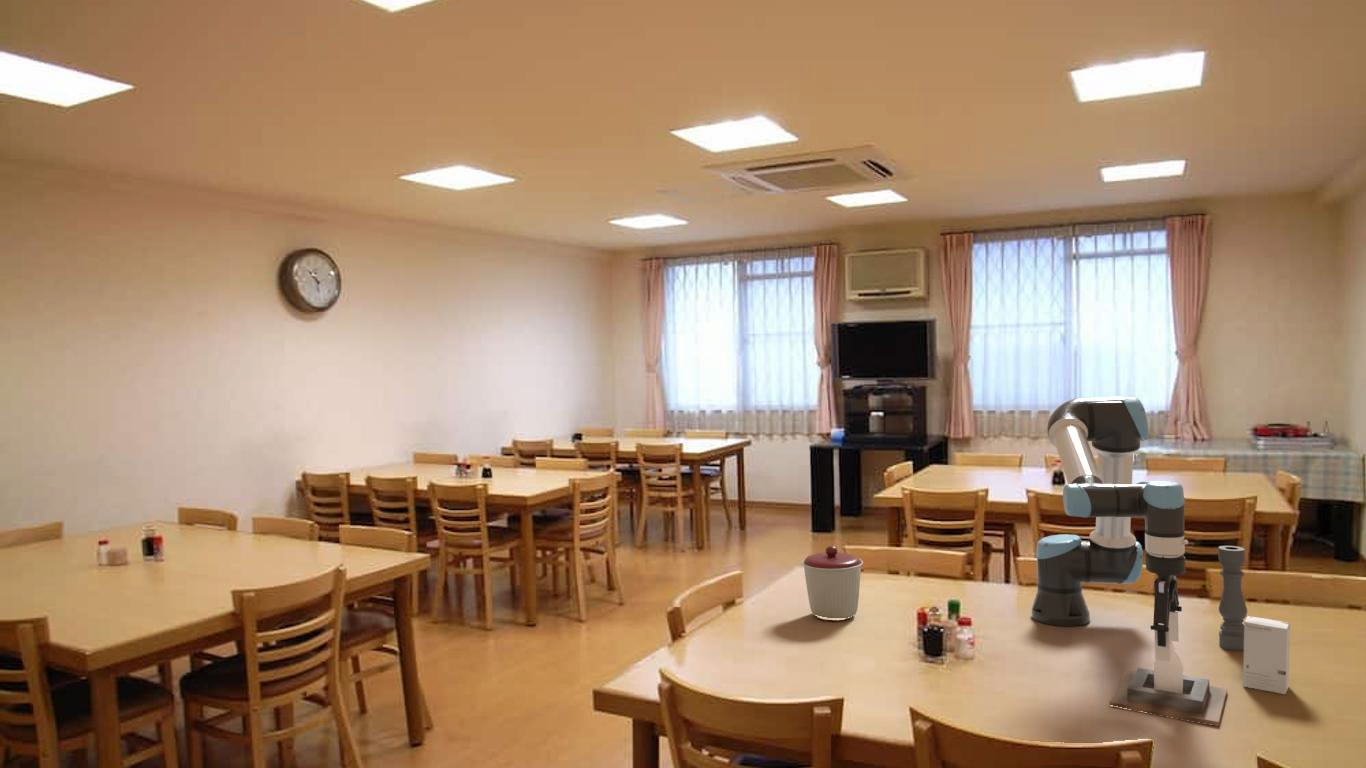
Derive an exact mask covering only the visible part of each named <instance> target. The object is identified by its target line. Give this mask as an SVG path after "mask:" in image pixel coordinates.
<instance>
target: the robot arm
mask: <svg viewBox="0 0 1366 768" xmlns="http://www.w3.org/2000/svg"><path fill="white" fill-rule="evenodd" d="M1145 409H1146V408H1145V407H1144V404H1143V403H1142V401H1141V400H1140V398H1138V397H1133V396H1132V397H1131V396H1121V395H1120V396H1109V397H1108V396H1107V397H1078V398H1073V399H1071V400H1067V401H1065V402H1064V403H1062V404H1061V405H1059V406H1058V407H1057V408H1056V409H1055V410H1054V411H1053V413H1051V416H1050V417H1049V420H1048V422H1047V428H1046V429H1047V430H1046V431H1047V436H1048V439H1049V442H1050V443H1051V444H1052V445H1053V447H1055V448H1056V451H1057V454H1058V457H1059V460H1060V463H1061V467H1062V470H1063V473H1064V476H1065V478H1066V482H1067V484H1065V485H1064V486H1063V490H1062V501H1063V502H1062V503H1063V509H1064V512H1065V514H1066V515H1067V516H1069V517H1077V518H1078V517H1079V518H1080V517H1081V518H1095V529H1094V530H1092V531H1091V532H1090V533H1089V540H1082V539H1081V537H1080V536H1079V535H1077V534H1067V533H1066V534H1054V535H1048V536H1045V537H1042V538H1041V539H1039V540H1038V541H1037V543H1036V551H1035V553H1036V554H1035V559H1036V570H1037V571H1036V576H1037V577H1036V579H1037V582H1036V583H1037V590H1036V591H1037V592H1036V594H1035V597H1034V600H1033V603H1032V607H1031V617H1032V619H1033V620H1035V621H1037V622H1040V623H1043V624H1046V625H1051V626H1060V627H1076V626H1084V625H1086V624H1088V623H1089V622H1090V618H1091V616H1090V615H1091V614H1090V610H1089V607H1088V605H1087V602H1086V600H1085V597H1084V594H1083V584H1086V583H1087V584H1113V585H1114V584H1116V585H1122V584H1123V585H1124V584H1134V583H1136V582H1137V581H1138V580H1139V579H1140V576H1141V575H1142V571H1143V565H1144V564H1143V563H1144V559H1143V556H1144V555H1143V554H1144V553H1143V548H1142V547H1143V546H1142V544H1141V543H1140V542H1139V541H1137V538H1136V536H1135V535H1134V534H1133V533H1131V525H1132V524H1131V519H1132V518H1144V526H1145V527H1144V528H1145V529H1144V550H1145V551H1146V552H1147V553H1145V569H1146V570H1147V571H1148V572H1149V573H1152V574H1156V575H1157V577H1156V578H1155V580H1154V584H1153V585H1154V600H1153V601H1154V603H1153V604H1154V605H1153V623H1152V624H1153V625H1150V630H1151V631H1152V630H1153V631H1154V654H1155V655H1154V656H1155V657H1154V658H1155V659H1154V661H1155V660H1161V661H1168V662H1170V641H1171V642H1176V643H1178V642H1179V640H1180V639H1179V612H1182V611H1183V609H1182V606H1180V602H1179V593H1178V591H1179V590H1178V580H1177V576H1181V575H1183V574H1185V573H1186V557H1185V556H1184V555H1185V552H1186V550H1185V547H1186V546H1185V545H1188V544H1189V540H1188V539H1185V503H1186V498H1185V493H1184V487H1183V485H1182V484H1181V483H1179V482H1174V481H1169V480H1151V481H1148V480H1143V481H1138V482H1137V483H1133V472H1134V470H1133V469H1134V467H1133V466H1134V454H1135V453H1137V452H1138V451H1139V450H1140V448H1141V442H1145V441H1147V440H1148V438H1149V433H1150V432H1149V421H1148V417H1147V412H1146V410H1145ZM1089 442H1091V446H1092V448H1093V449H1094V450H1096V451H1097V463H1096V460H1095V458H1094V454H1093V452H1092V450H1091V446H1090V444H1089Z"/></svg>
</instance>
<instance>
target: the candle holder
mask: <svg viewBox="0 0 1366 768" xmlns="http://www.w3.org/2000/svg"><path fill="white" fill-rule="evenodd" d="M1217 550H1218V553H1217V554H1218V561H1219V564H1220V565H1221V567H1222V569H1221V570H1220V571H1219V574H1220V575H1221V576H1222V577H1223V578H1222V580H1223V581H1222V583H1223V587H1222V588H1223V589H1222V593H1221V598H1220V601H1219V605H1218V611H1219V614H1220V615H1221V617H1222V620H1223V622H1222V624H1220V626H1219V628H1220V630H1219V632H1218V636H1219V638H1218V641H1219V643H1218V644H1219V647H1220V648H1222V649H1225V650H1228V651H1235V650H1236V651H1237V652H1244V651H1243V650H1244V622H1245V619H1246V618H1247V615H1248V608H1247V604H1246V601H1245V597H1244V594H1243V591H1242V578H1243V577H1244V576H1245V572H1243V570H1242V568H1243V567H1244V565H1245V563H1246V549H1245V548H1244V547H1241V546H1235V545H1219V546H1218V549H1217Z"/></svg>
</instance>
